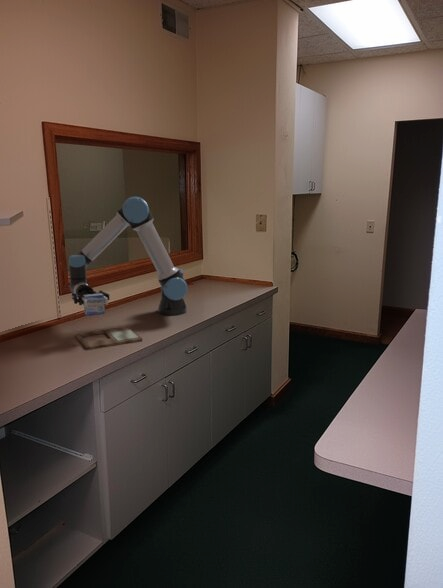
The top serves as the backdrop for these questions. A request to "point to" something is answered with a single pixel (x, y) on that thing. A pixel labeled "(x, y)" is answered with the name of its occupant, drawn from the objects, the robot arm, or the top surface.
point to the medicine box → (94, 304)
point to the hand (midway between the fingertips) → (96, 302)
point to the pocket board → (115, 335)
